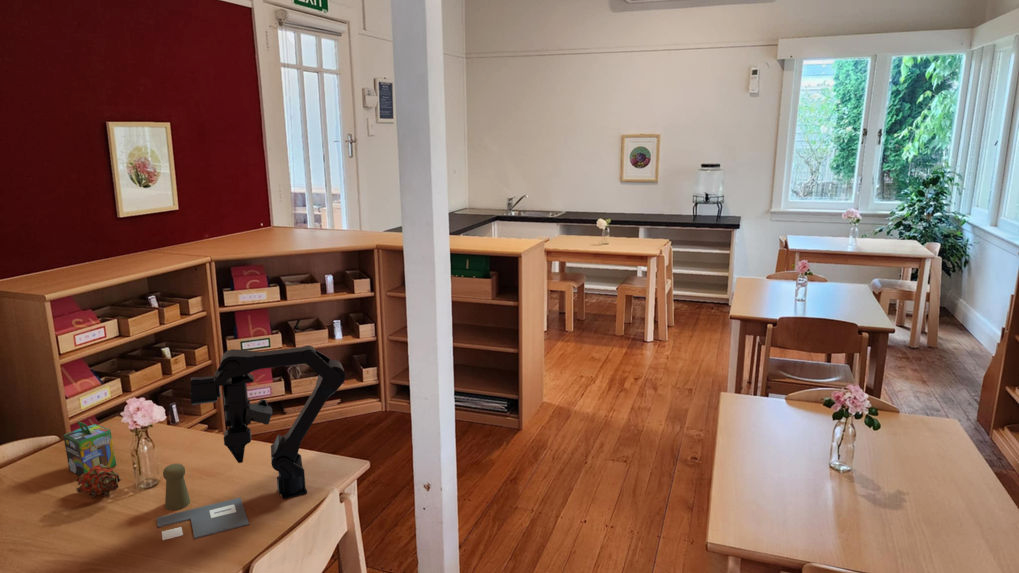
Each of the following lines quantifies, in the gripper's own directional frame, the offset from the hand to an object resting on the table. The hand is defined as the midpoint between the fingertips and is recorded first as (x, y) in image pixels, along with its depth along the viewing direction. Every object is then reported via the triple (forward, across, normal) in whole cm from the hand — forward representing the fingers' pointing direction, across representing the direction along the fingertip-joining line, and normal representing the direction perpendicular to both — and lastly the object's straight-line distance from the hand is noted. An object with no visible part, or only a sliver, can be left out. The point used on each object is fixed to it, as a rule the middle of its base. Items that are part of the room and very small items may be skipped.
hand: (240, 454), depth 176 cm
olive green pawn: (+13, +3, +17) cm, 21 cm away
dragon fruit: (+13, +16, +37) cm, 43 cm away
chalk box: (+13, +33, +42) cm, 55 cm away
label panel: (+13, -8, +10) cm, 18 cm away
